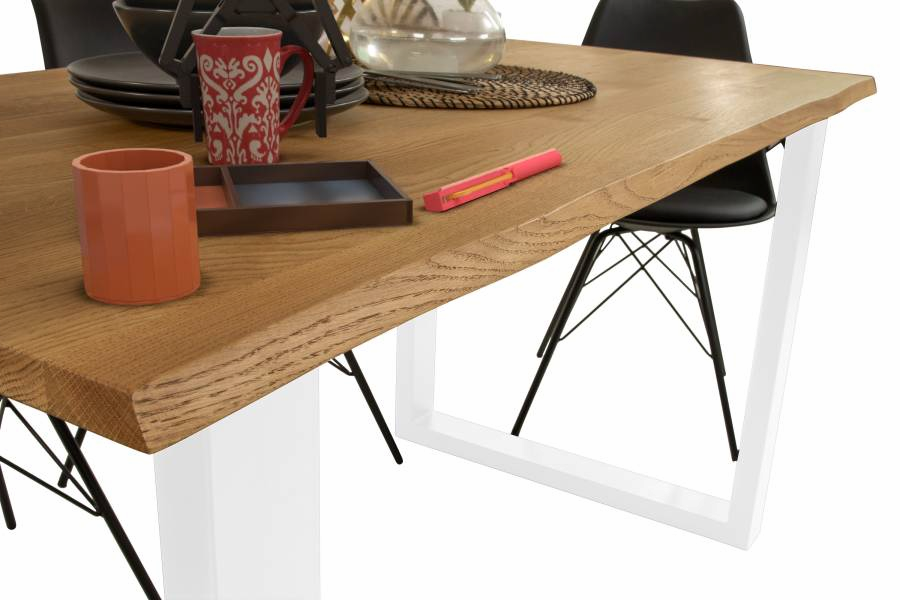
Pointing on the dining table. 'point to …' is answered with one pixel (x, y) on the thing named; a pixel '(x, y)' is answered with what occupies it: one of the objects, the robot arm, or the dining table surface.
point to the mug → (246, 93)
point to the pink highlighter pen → (490, 181)
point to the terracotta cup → (137, 225)
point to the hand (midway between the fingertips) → (260, 137)
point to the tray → (297, 197)
